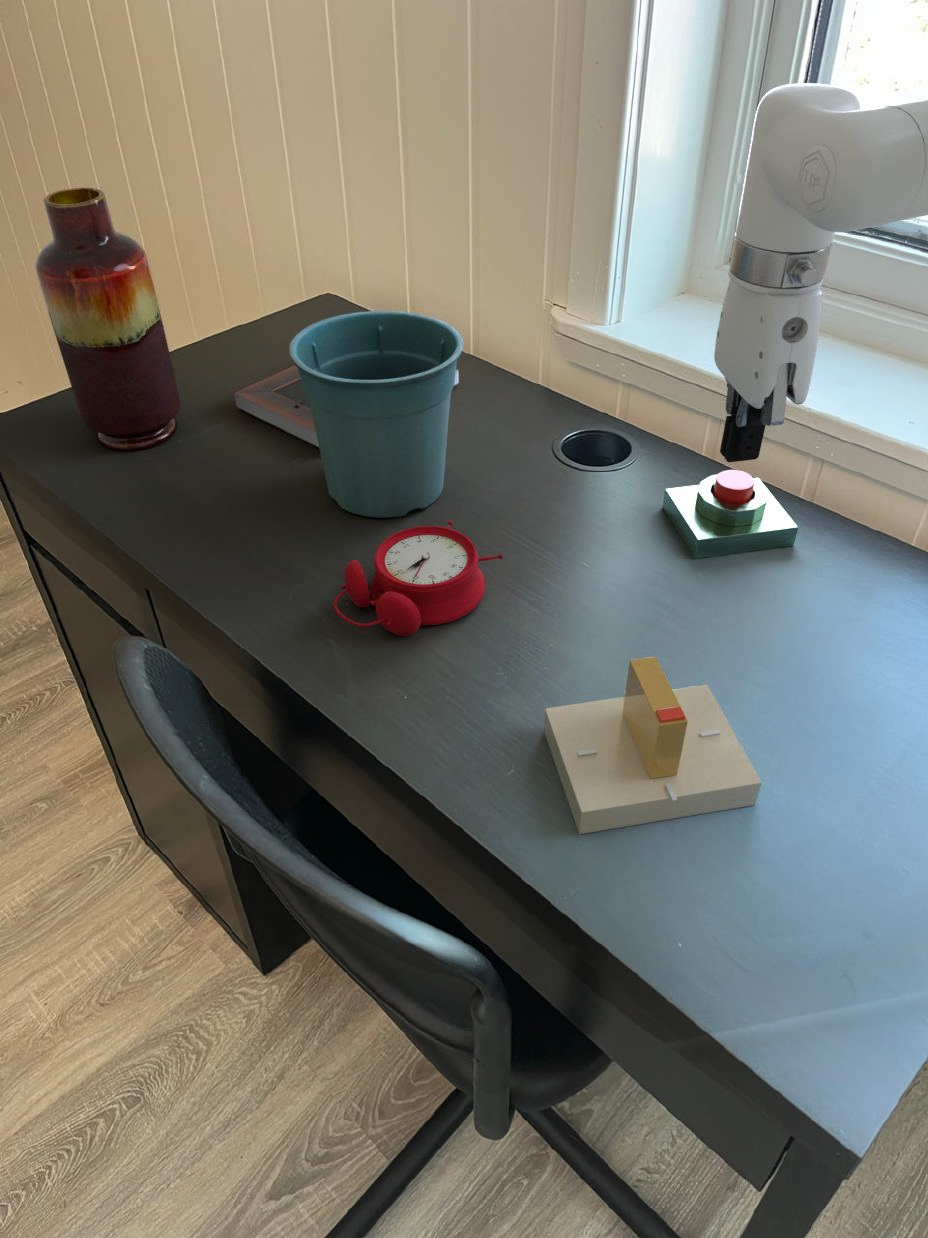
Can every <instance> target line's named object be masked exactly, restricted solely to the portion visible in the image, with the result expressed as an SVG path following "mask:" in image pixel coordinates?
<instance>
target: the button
mask: <svg viewBox="0 0 928 1238" xmlns="http://www.w3.org/2000/svg"><path fill="white" fill-rule="evenodd" d="M716 475H717V476H716V480H715V486H714V491H713V494H714V496H715V498H716V499H718V500H720V501H722V502H725V503H731V504H743V503H747V502H749V501H750V500H751V497H752V493H753V488H754V483H755V481H754V479H753V478H754V477H753V476H752V475H751V474H750V473H747V472H745V471H742V470H737V469H726V470H722V471H720V472H718V473H717V474H716Z"/></svg>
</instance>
